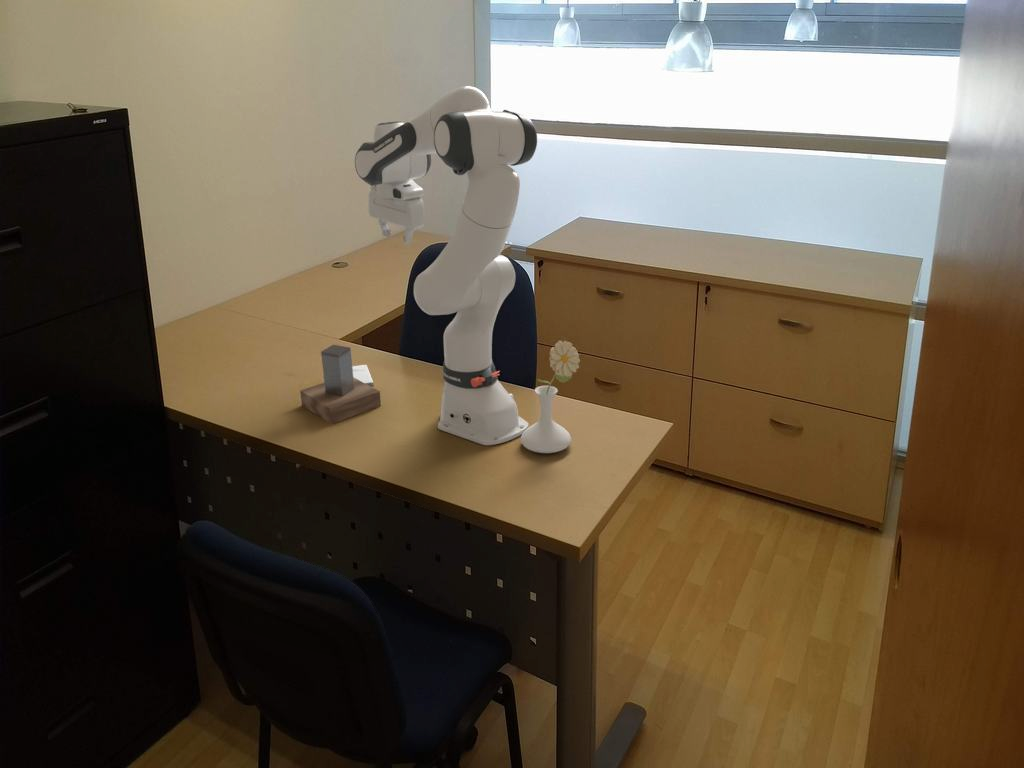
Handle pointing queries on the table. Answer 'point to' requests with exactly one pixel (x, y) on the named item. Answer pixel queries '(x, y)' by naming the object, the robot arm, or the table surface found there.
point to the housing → (337, 370)
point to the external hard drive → (362, 374)
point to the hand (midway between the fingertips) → (397, 239)
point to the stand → (340, 401)
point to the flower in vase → (546, 431)
